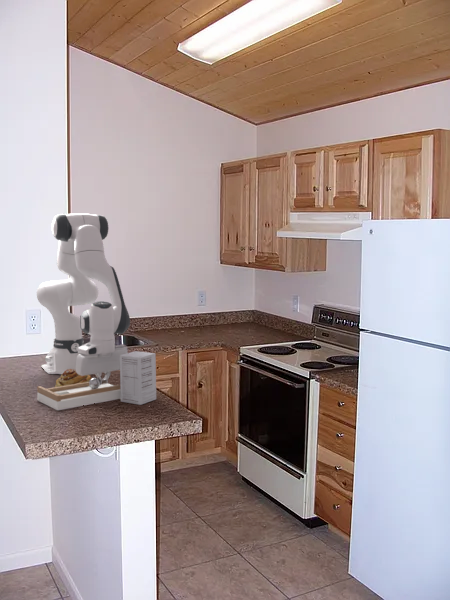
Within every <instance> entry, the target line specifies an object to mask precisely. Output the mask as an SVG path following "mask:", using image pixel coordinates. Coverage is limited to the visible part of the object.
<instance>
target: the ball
mask: <svg viewBox="0 0 450 600" xmlns="http://www.w3.org/2000/svg"><path fill="white" fill-rule="evenodd" d="M91 378H92V379H90V381H89V386H90V387H91V388H92V389H96V388H98V387H99V386H100V381H99V379H98V378H97V377H91Z"/></svg>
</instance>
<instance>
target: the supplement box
mask: <svg viewBox="0 0 450 600" xmlns="http://www.w3.org/2000/svg"><path fill="white" fill-rule="evenodd" d="M156 354H157V353H153V352H146V351H139V350H138V351H137V350H135V351H131V352H128V353H127V354H123V355H120V370H119V377H120V381H119V382H120V383H119V385H120V390H121V399H120V402H123V403H128V404H134V405H139V406H142V405H144V404H147V403H149V402H152V401H155V400H157V365H156V364H157V360H156Z"/></svg>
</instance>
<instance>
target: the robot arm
mask: <svg viewBox="0 0 450 600" xmlns="http://www.w3.org/2000/svg"><path fill="white" fill-rule="evenodd" d="M51 231H52V235H53V237H54V238H55V239H56V240H58V249H57V257H56V258H57V260H56V261H57V262H56V265H57V269H58V270H59V271H60V272H62V273H63V274H65V275H67V276H68V277H69V278H68V279H59V280H50V281H45V282H41V283H40V284H39V285H38V288H37V289H36V298H37V300H38V302H39V303H40V305H41V306H43V307H45V309H47V310H48V312H49V313H50V314H51V316H52V318H53V323H54V330H55V331H54V334H55V335H54V336H55V338H54V339H53V348H52V349H50V351H49V352H48V353H46V354H47V355H46V356H45V358H44V360H45V362H46V363H45V364H41V367H42V368H43V369H44V372H46V373H47V374H49V375H62V374H63V373H64V371H65V370H67V369H74V370H76V373H77V374H78V375H81V376H84V375H90V376H91V375H95V376H96V377H95V378H97V379H99V381H100V385H103V384H109V378H110V376H111V372H116V371H120V355H123V354H127V353H129V352H128V346H127V345H126V344H124V343H121V344H116V339H115V338H116V336H115V335H123V334H124V333H125V332H126V331H127V330H128V329H129V328H130V326H131V319H130V314H129V311H128V309H127V306H126V302H125V300H124V296H123V292H122V289H121V285H120V281H119V278H118V275H117V272H116V270H115V268H114V267H113V266H111V265H110V264H109V262H108V261H107V259H106V255H105V248H104V243H103V240H105V239H106V238H107V236H108V234H109V222H108V219H107V218H106V217H105V216H104V215H101V214H90V213H67V214H66V213H60V214H59V213H58V214H57V215H56V214H55V216H54V217H53V219H52V223H51ZM93 280H95V281H98V282H101V283H102V284H103V285H105V287H106V288H107V290H108V294H109V298H110V301H111V303H110V302H108V301H97V299H98V297H99V288H98V286H97V284H96V283H95V281H93ZM90 304H91V305H90ZM85 305H90V308H89V309H85V310H84V311H83V312H82V313H81V314H80V316H78V315H75V314H74V313H71V312H70V311H69V307H74V306H75V307H77V306H85ZM83 333H85V334H86V335H90V337H89V341H88V342H87V343H85V342H84V337H83ZM41 367H40V368H41ZM42 368H41V369H42ZM43 369H42V370H43ZM103 374H105V375H104V377H103V378H102V376H103Z"/></svg>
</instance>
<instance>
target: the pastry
mask: <svg viewBox="0 0 450 600" xmlns="http://www.w3.org/2000/svg"><path fill="white" fill-rule="evenodd" d="M92 378H93V377H92V376H91V374H90V375H84V376H81V375H78V374H77V373H76V370H74V369H67V370H65V371H64V373H63V374H60V377H58V378H57V379H56V380H55V385H54V387H60V386H66V385H72V384H78V383H84V382H89V381H90V379H92Z"/></svg>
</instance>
